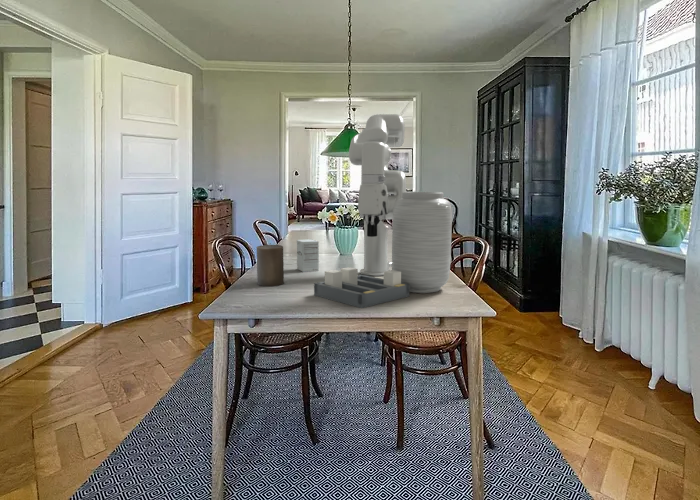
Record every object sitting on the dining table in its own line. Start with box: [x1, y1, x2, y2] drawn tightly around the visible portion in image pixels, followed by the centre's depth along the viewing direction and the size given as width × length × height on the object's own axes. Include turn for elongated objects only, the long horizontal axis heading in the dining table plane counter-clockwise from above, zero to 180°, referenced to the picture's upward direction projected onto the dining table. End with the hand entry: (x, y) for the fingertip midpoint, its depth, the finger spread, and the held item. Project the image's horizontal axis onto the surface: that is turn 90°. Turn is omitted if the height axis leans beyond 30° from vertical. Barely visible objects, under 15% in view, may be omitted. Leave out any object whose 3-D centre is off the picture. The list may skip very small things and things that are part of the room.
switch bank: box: [313, 274, 410, 309], centre depth 159 cm, size 22×22×4 cm
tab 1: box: [324, 269, 342, 288], centre depth 158 cm, size 4×4×7 cm
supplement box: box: [296, 238, 320, 273], centre depth 203 cm, size 7×7×13 cm
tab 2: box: [383, 269, 401, 286], centre depth 158 cm, size 4×4×7 cm
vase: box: [391, 191, 453, 294], centre depth 168 cm, size 20×20×34 cm
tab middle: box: [340, 267, 359, 285], centre depth 163 cm, size 4×4×7 cm
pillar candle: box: [255, 242, 285, 287], centre depth 176 cm, size 10×10×15 cm
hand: (372, 236), depth 161 cm, fingers closed
